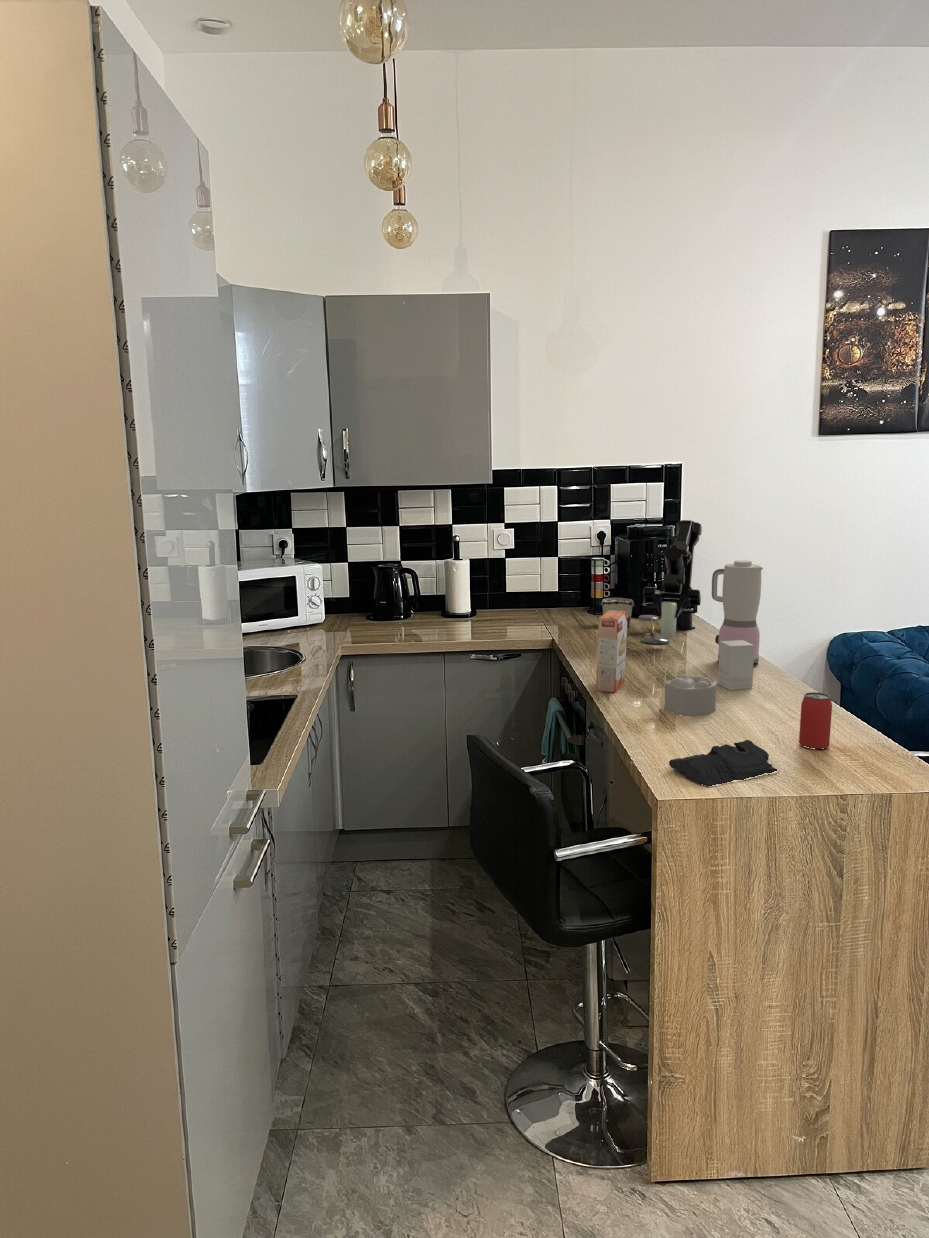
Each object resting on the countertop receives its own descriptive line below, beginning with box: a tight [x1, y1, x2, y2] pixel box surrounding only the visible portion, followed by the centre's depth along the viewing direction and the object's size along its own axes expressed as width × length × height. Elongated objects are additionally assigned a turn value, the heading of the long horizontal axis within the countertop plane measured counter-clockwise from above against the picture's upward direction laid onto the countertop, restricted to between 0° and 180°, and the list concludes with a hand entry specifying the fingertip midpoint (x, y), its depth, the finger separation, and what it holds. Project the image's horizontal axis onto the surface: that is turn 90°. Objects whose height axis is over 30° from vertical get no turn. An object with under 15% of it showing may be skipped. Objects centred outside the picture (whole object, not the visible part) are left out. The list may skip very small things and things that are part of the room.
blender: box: [711, 559, 764, 665], centre depth 294 cm, size 16×12×32 cm
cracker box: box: [595, 610, 628, 694], centre depth 267 cm, size 14×6×21 cm, turn 160°
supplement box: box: [717, 640, 755, 691], centre depth 268 cm, size 7×7×13 cm
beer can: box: [798, 691, 833, 749], centre depth 216 cm, size 7×7×12 cm
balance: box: [638, 614, 671, 646], centre depth 334 cm, size 23×9×6 cm, turn 179°
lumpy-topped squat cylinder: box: [664, 673, 718, 717], centre depth 245 cm, size 10×13×9 cm
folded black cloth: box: [668, 739, 778, 787], centre depth 202 cm, size 15×22×5 cm
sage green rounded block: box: [659, 601, 677, 638], centre depth 316 cm, size 5×5×11 cm
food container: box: [600, 597, 635, 627], centre depth 355 cm, size 12×6×10 cm, turn 84°
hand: (668, 616), depth 314 cm, fingers closed on sage green rounded block, 5 cm apart
